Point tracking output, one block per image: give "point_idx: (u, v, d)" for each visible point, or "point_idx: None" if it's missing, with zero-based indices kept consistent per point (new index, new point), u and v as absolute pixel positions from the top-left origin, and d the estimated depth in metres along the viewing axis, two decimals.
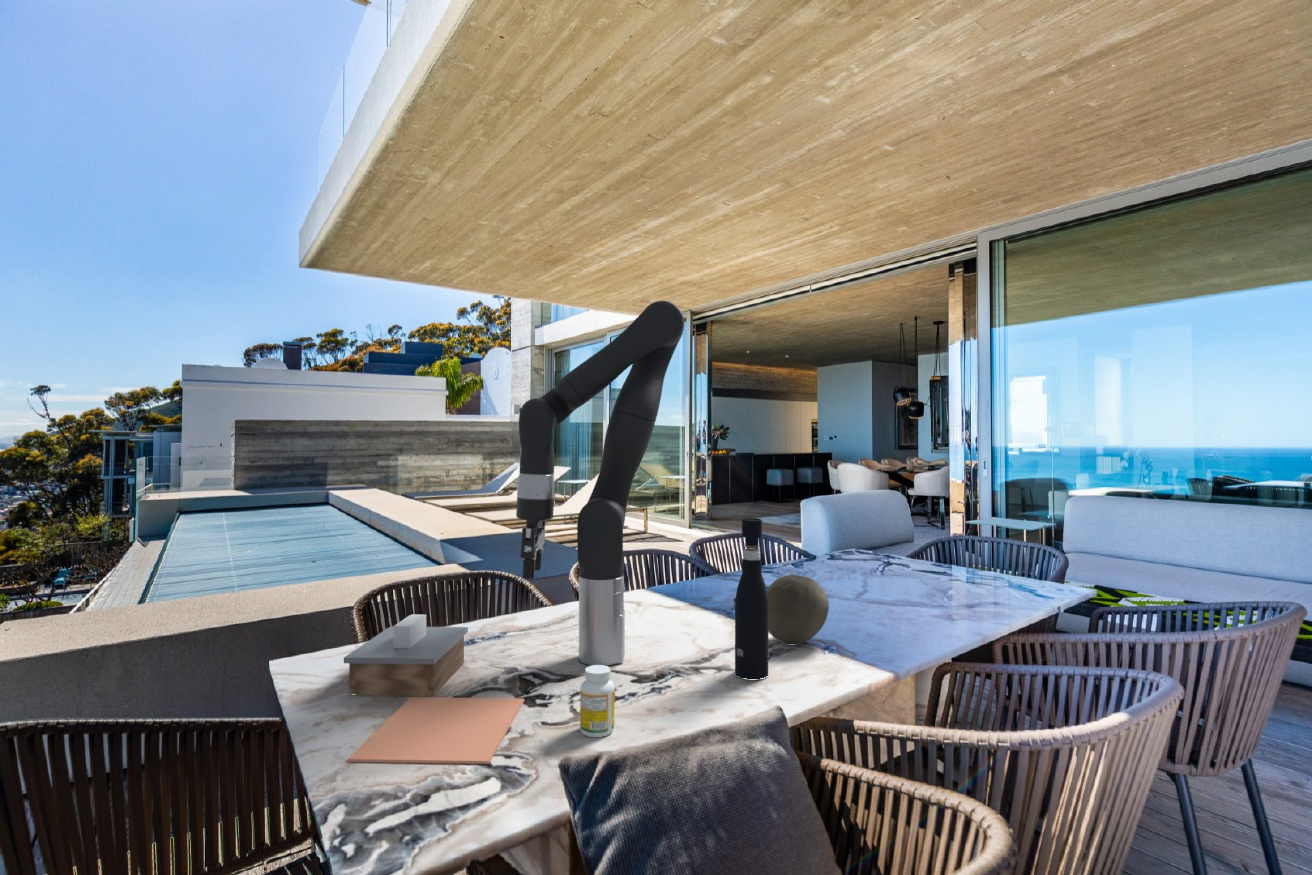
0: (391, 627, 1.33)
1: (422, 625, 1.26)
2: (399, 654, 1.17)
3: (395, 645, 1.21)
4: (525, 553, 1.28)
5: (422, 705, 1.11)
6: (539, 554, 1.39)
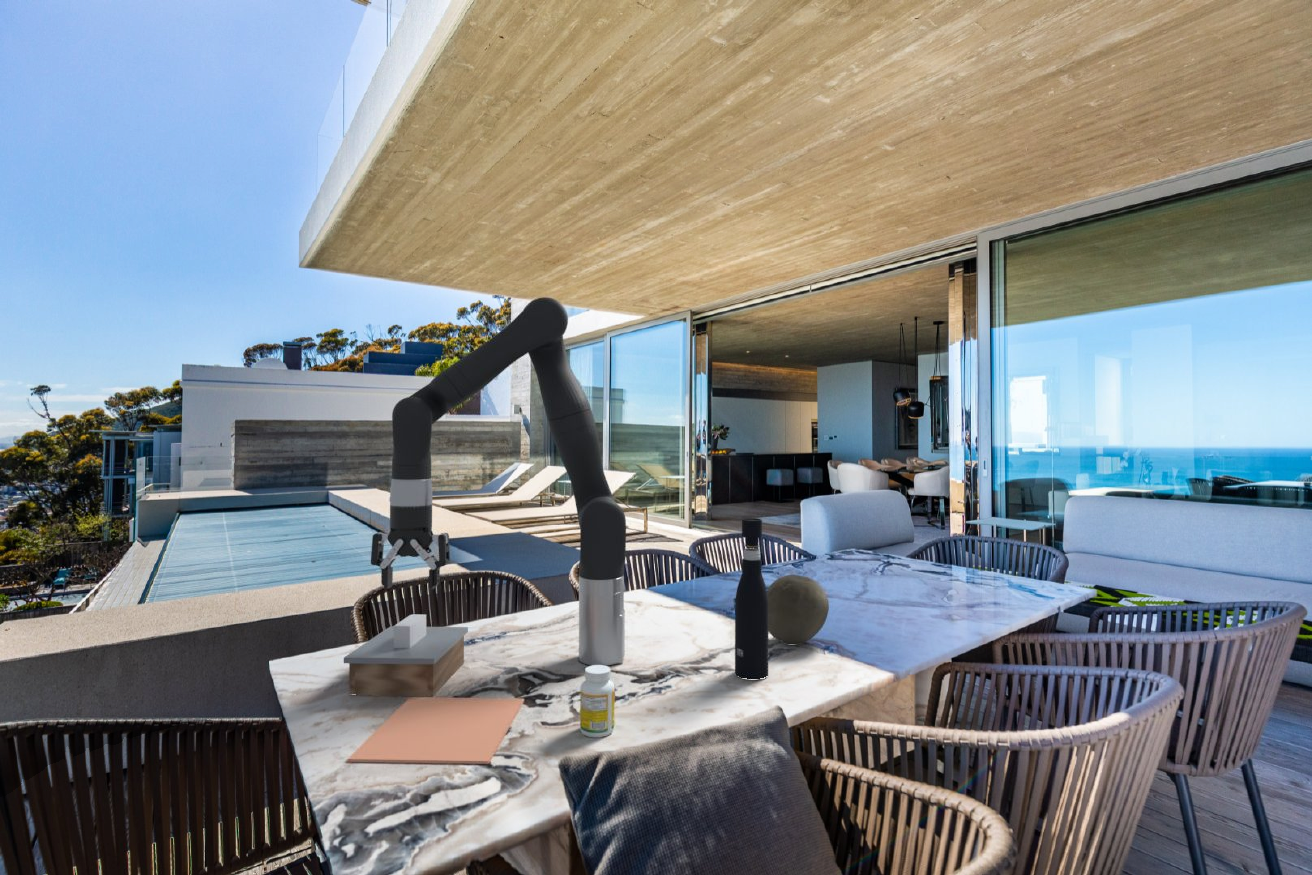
0: (391, 627, 1.33)
1: (422, 625, 1.26)
2: (399, 654, 1.17)
3: (395, 645, 1.21)
4: (446, 560, 1.24)
5: (422, 705, 1.11)
6: (392, 569, 1.25)
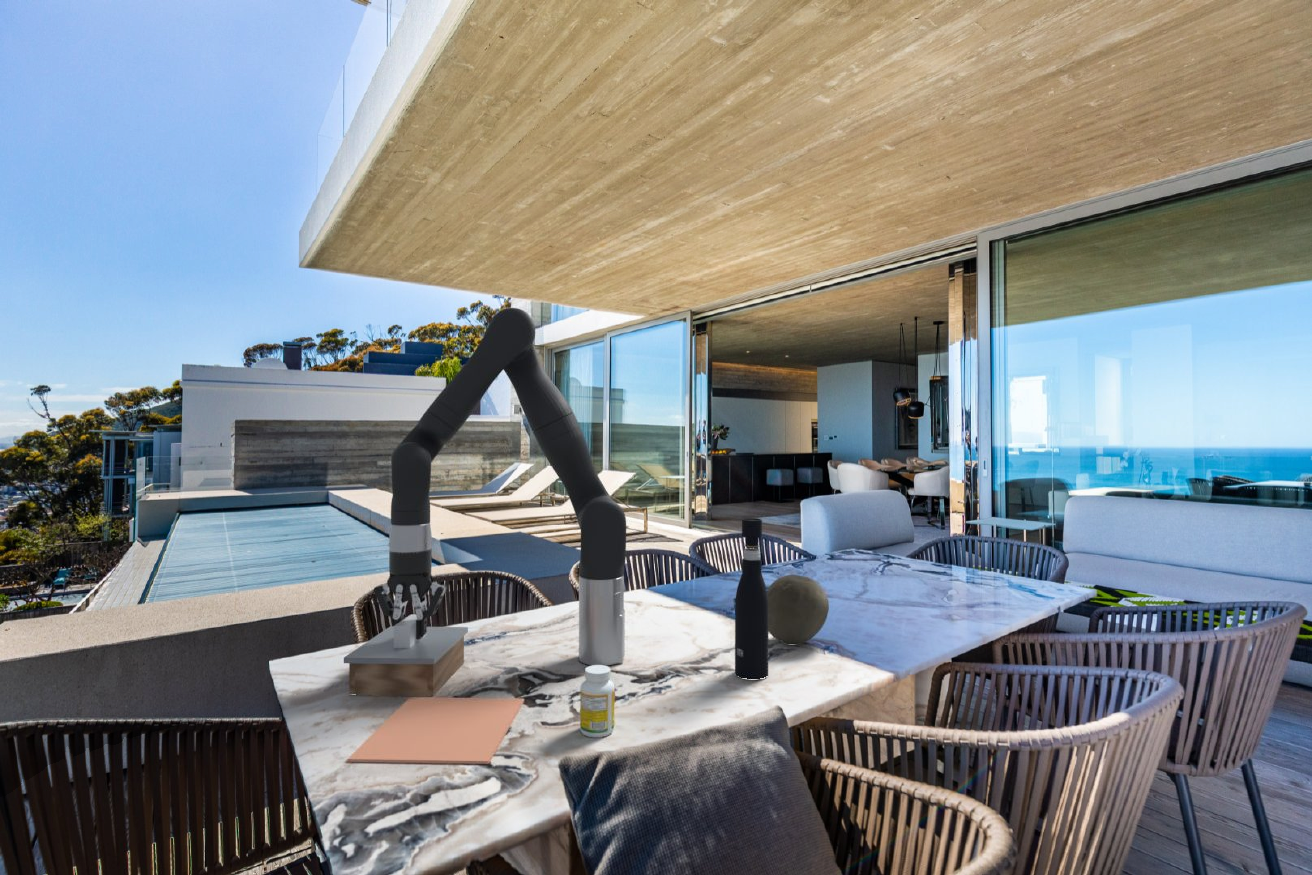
0: (391, 627, 1.33)
1: None
2: (399, 654, 1.17)
3: (395, 645, 1.21)
4: None
5: (422, 705, 1.11)
6: None
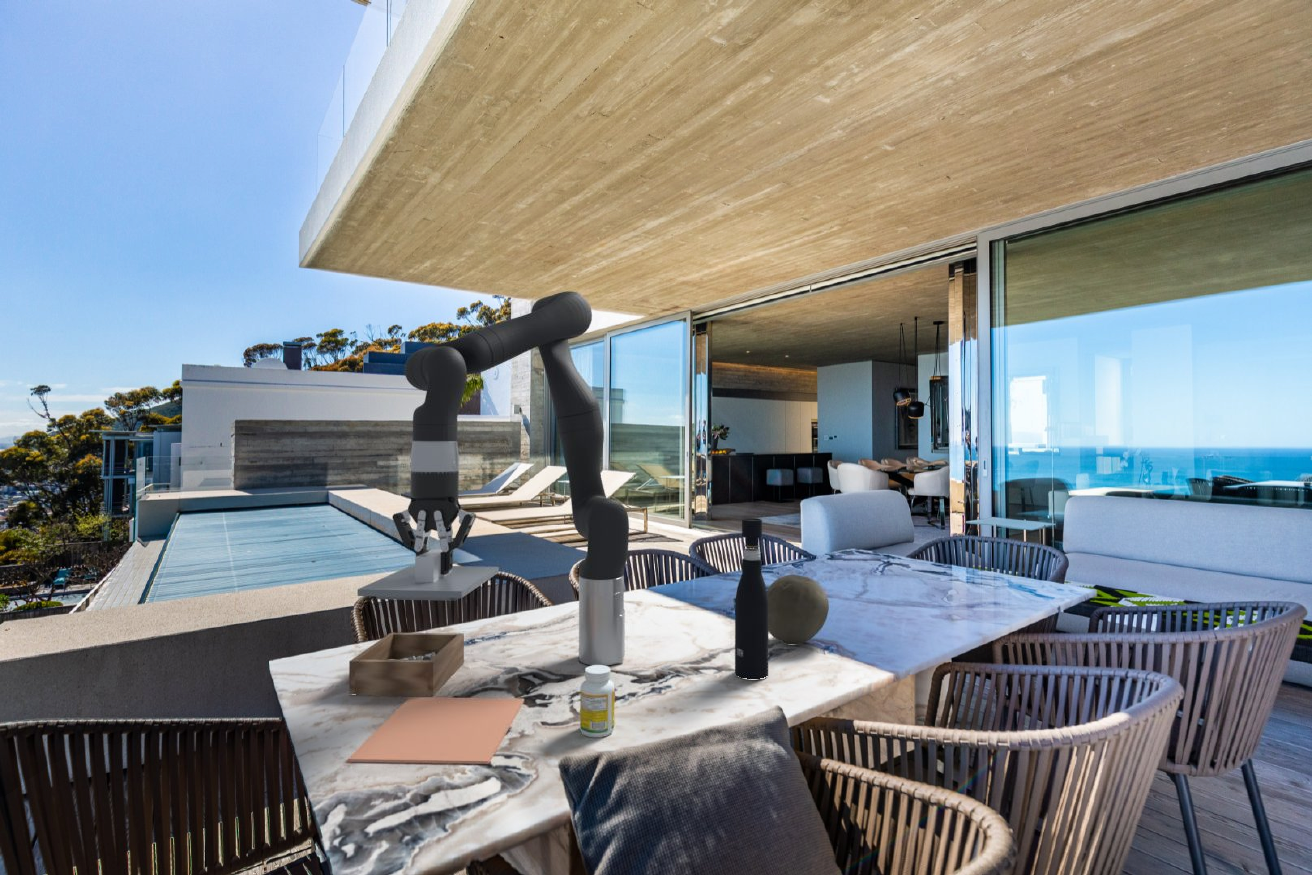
0: (412, 566, 1.17)
1: None
2: (422, 587, 1.00)
3: (417, 579, 1.04)
4: None
5: (422, 705, 1.11)
6: None
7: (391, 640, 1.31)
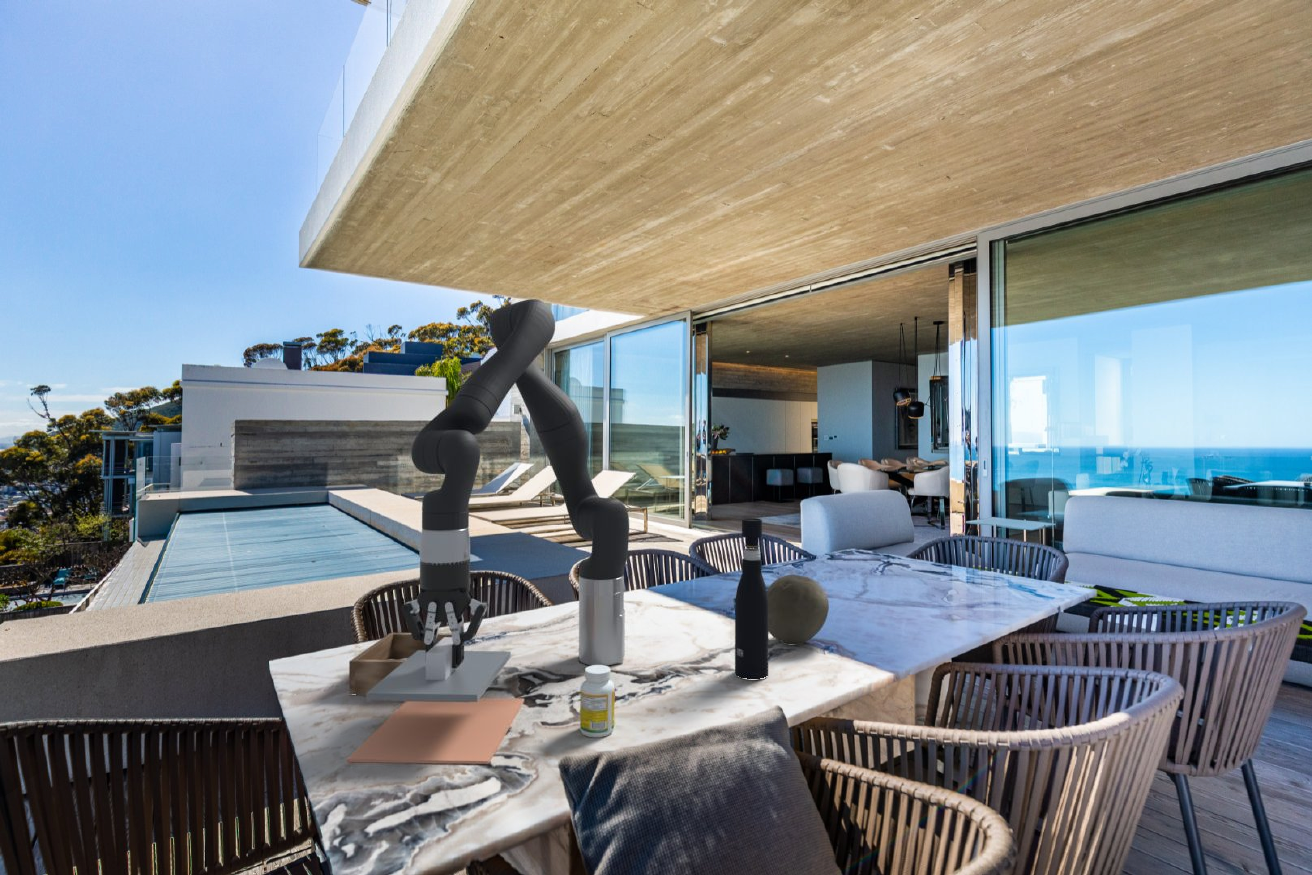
0: (419, 651, 1.12)
1: None
2: (434, 689, 0.95)
3: (427, 676, 0.99)
4: None
5: (422, 705, 1.11)
6: (437, 643, 1.04)
7: (391, 640, 1.31)
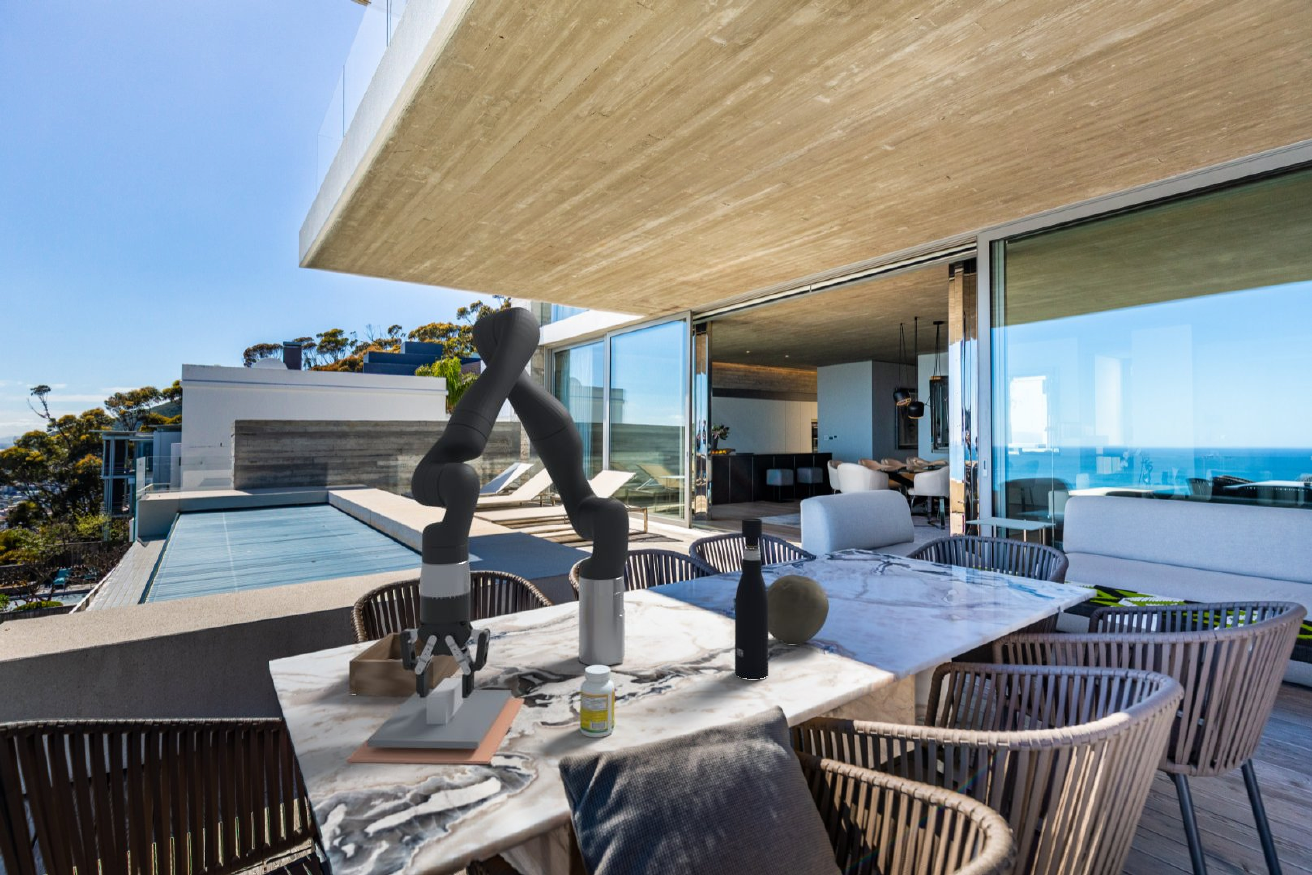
0: None
1: (459, 693, 1.05)
2: (435, 735, 0.95)
3: (428, 720, 0.99)
4: None
5: None
6: (428, 672, 1.04)
7: (391, 640, 1.31)
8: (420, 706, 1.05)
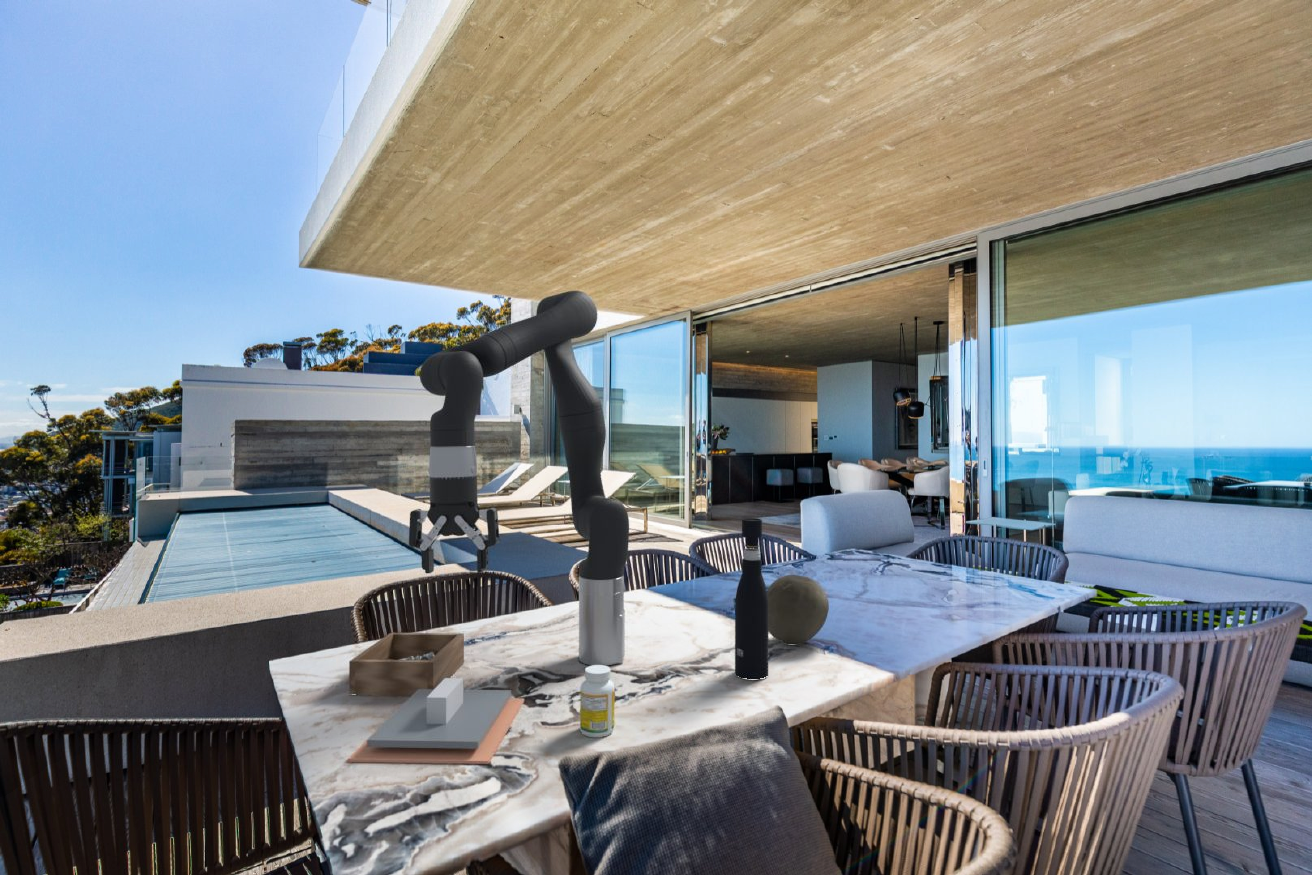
0: (420, 690, 1.12)
1: (459, 693, 1.05)
2: (435, 735, 0.95)
3: (428, 720, 0.99)
4: (495, 538, 1.08)
5: None
6: (432, 551, 1.09)
7: (391, 640, 1.31)
8: (420, 706, 1.05)
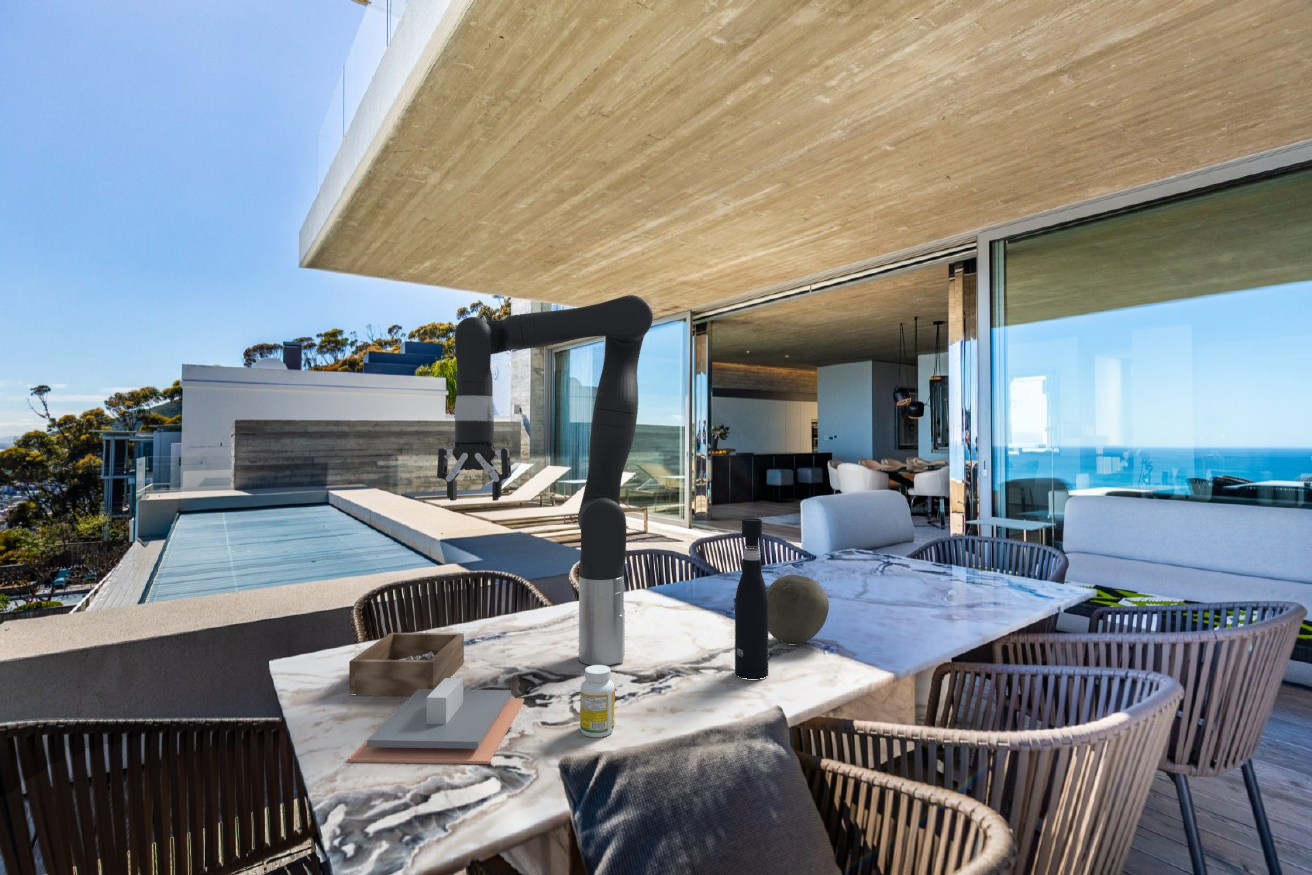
0: (420, 690, 1.12)
1: (459, 693, 1.05)
2: (435, 735, 0.95)
3: (428, 720, 0.99)
4: None
5: None
6: (456, 483, 1.32)
7: (391, 640, 1.31)
8: (420, 706, 1.05)
